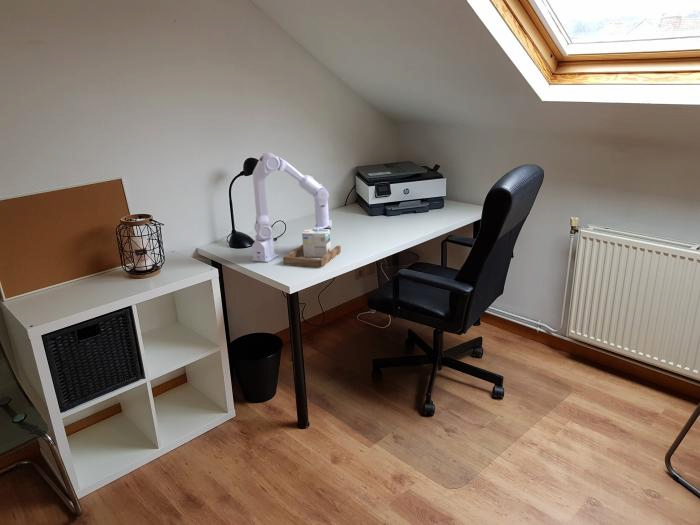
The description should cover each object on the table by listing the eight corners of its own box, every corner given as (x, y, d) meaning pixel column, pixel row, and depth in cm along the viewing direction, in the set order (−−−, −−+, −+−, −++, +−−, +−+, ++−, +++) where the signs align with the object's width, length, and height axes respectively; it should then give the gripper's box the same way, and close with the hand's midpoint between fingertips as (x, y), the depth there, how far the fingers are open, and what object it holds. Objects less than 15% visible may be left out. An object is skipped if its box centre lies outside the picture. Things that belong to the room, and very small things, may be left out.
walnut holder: (321, 267, 231) (321, 260, 230) (283, 264, 238) (283, 257, 237) (340, 252, 249) (340, 245, 248) (305, 249, 255) (304, 242, 254)
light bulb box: (331, 252, 249) (330, 228, 246) (327, 257, 243) (326, 233, 239) (307, 252, 251) (306, 228, 248) (303, 257, 245) (301, 232, 242)
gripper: (323, 219, 240) (325, 250, 245) (337, 210, 253) (338, 240, 257) (308, 218, 243) (310, 249, 247) (322, 209, 255) (324, 239, 260)
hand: (323, 244), depth 252 cm, fingers closed
